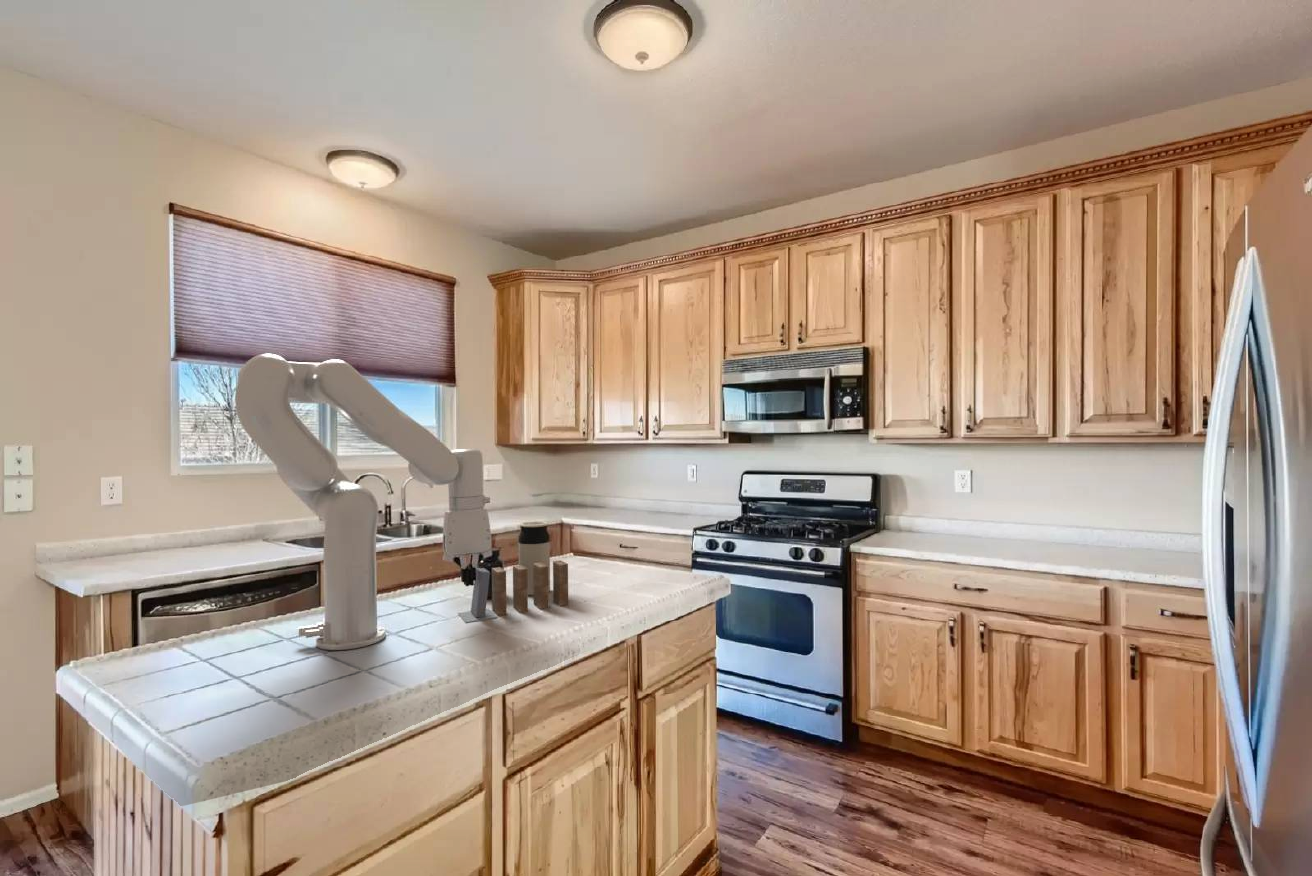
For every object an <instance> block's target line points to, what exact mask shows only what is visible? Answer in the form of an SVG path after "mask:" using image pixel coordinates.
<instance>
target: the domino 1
mask: <svg viewBox="0 0 1312 876" xmlns="http://www.w3.org/2000/svg"><path fill="white" fill-rule="evenodd" d="M489 578H490V572H489V571H487V570H486V569H485V568H476V581H474V585H473V588H472V589H473V591H472V597H471V598H472V599H471V606H470V611H471V613H472V614H473V615H474V616H475V617H485V612H486V609H487V602H488V599H487V595H488V586H489Z"/></svg>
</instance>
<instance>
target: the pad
mask: <svg viewBox="0 0 1312 876" xmlns="http://www.w3.org/2000/svg"><path fill="white" fill-rule="evenodd" d="M457 614H458V616H459V617H460V618H461V620H463V622H464V623H465V624H468V623H473V622H475V623H476V622H480V621H487V620H494V619H498V616H497V615H496V614H495V613H494V612H493V611H492V610H491V609H490V608H486V612H485V617H475V616H474V615H473V614H472V613H471V610H470V611H463V612H458V613H457Z"/></svg>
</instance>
